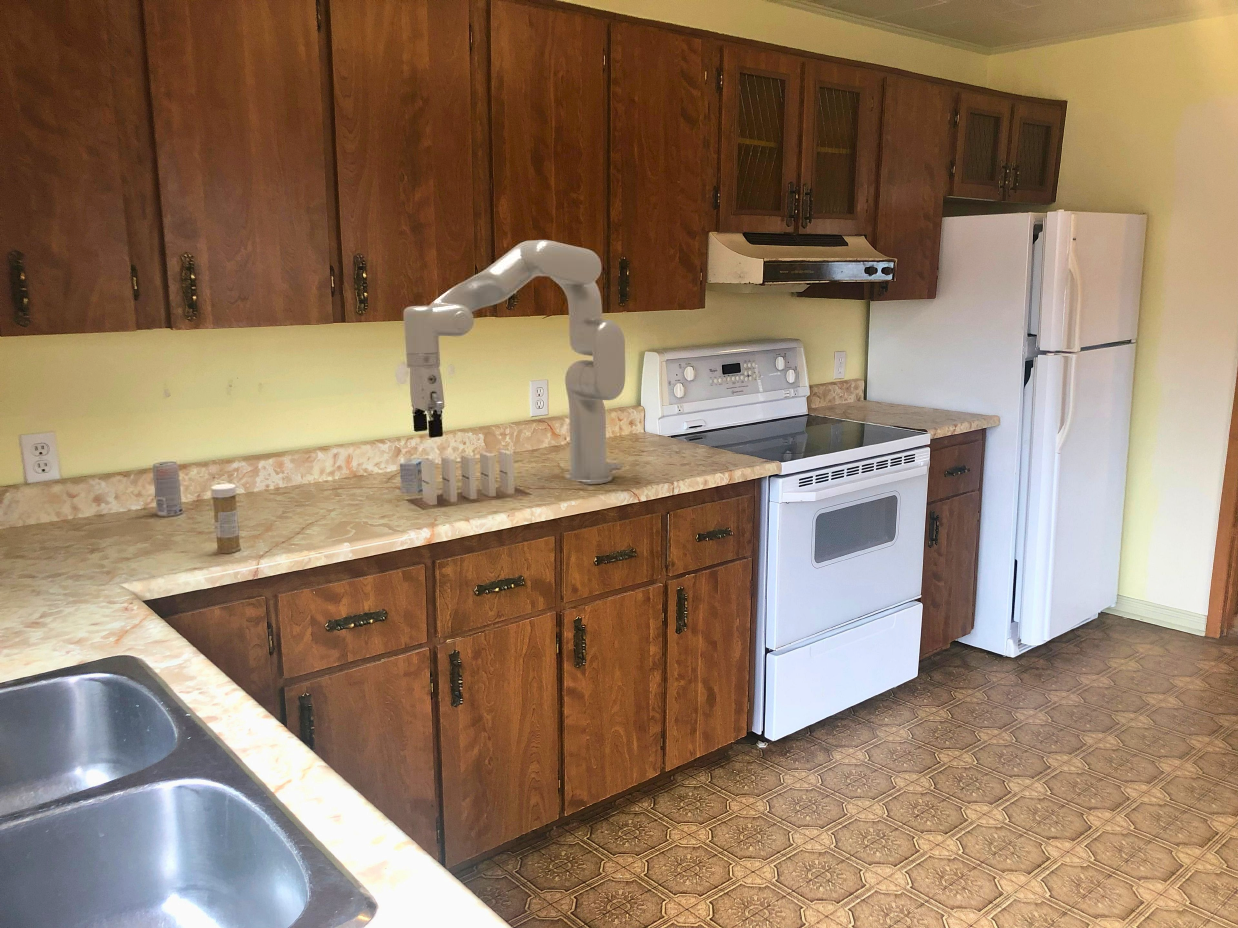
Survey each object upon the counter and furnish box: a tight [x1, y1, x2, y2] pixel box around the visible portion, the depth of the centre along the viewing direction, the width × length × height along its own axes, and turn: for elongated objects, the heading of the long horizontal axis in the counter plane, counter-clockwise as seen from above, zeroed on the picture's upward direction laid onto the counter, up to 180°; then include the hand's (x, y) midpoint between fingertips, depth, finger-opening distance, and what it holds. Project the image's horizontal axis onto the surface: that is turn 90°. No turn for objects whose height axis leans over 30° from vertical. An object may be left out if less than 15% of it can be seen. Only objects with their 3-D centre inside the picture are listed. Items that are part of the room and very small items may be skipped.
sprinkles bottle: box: [210, 483, 242, 554], centre depth 192 cm, size 5×5×14 cm
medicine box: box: [399, 457, 429, 494], centre depth 240 cm, size 8×4×9 cm, turn 168°
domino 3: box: [460, 453, 477, 499], centre depth 232 cm, size 2×5×10 cm, turn 32°
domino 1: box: [421, 458, 438, 505], centre depth 226 cm, size 2×5×10 cm, turn 31°
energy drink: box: [151, 461, 183, 518], centre depth 222 cm, size 5×5×12 cm
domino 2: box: [440, 456, 458, 502], centre depth 229 cm, size 2×5×10 cm, turn 32°
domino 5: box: [498, 449, 515, 494], centre depth 237 cm, size 2×5×10 cm, turn 32°
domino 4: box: [479, 451, 497, 497], centre depth 234 cm, size 2×5×10 cm, turn 32°
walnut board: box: [404, 485, 533, 511], centre depth 233 cm, size 28×12×1 cm, turn 122°
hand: (428, 434), depth 224 cm, fingers open, 9 cm apart
